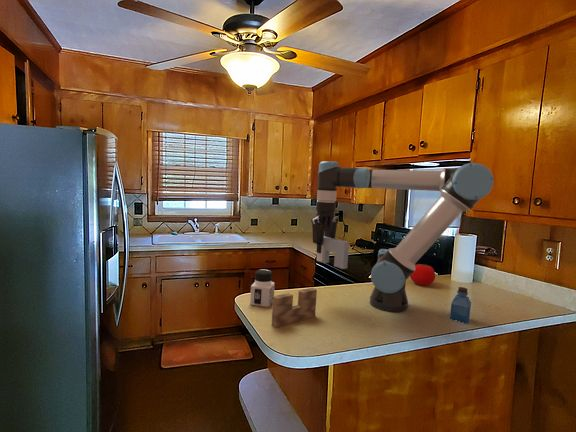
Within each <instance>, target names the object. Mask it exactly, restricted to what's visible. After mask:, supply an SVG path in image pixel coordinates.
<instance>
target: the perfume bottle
mask: <svg viewBox="0 0 576 432" xmlns="http://www.w3.org/2000/svg"><path fill="white" fill-rule="evenodd" d="M468 294H469V292H468V288H466V287H462V286H460V287H458V290H457V294H456V295H455V296H454V297H453V299H452V302H450V303H451V304H450V313H449V320H450V319H452V320H451V321H454V320H457V321H456V322H458V321H460V322H459V323H462V322H464V323H463V324H466V323H468V324H469V321H470V316H471V308H472V302H471V299H470V296H468Z"/></svg>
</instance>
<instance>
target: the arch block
mask: <svg viewBox="0 0 576 432" xmlns="http://www.w3.org/2000/svg"><path fill="white" fill-rule="evenodd" d="M322 245H324V253H323V262H321V261H318V262H319V263H321V264H322V263H323V264H329V263H330V253H334V260H333V266H334V267H335V268H339V269H340V270H341V269H342V270H346V269H348V264H349V263H348V261H349V248H350V247H349V246H350V242H349V241H347V240H342V239H337V238H335V239H334V238H330V237H325V235H324V237H323V244H322Z"/></svg>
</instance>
